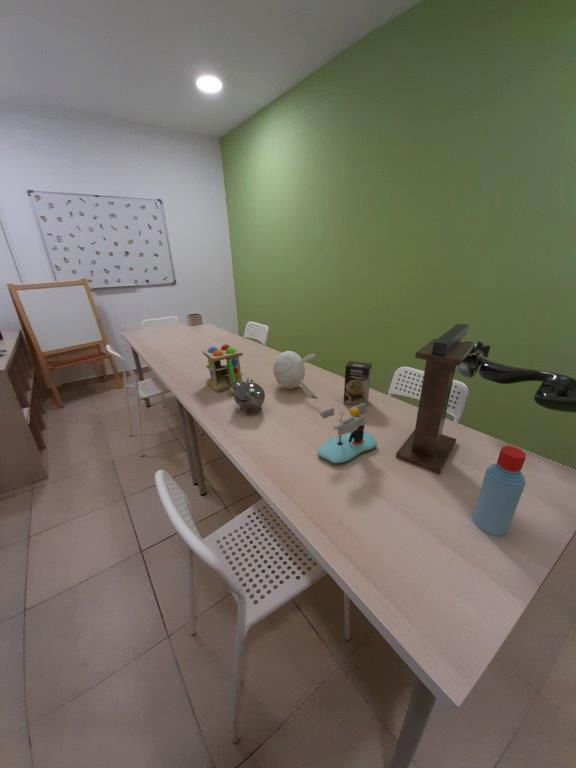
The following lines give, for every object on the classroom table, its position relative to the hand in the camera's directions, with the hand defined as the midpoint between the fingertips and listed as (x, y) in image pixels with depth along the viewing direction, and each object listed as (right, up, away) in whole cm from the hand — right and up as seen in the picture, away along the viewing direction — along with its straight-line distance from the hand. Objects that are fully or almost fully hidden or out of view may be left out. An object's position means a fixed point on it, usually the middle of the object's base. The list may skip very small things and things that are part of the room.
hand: (463, 342), depth 96 cm
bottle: (-11, -44, -30) cm, 54 cm away
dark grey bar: (-12, -2, -14) cm, 19 cm away
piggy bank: (-71, -24, +22) cm, 78 cm away
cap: (-12, -30, -36) cm, 48 cm away
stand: (-14, -33, -5) cm, 37 cm away
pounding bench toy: (-83, -15, +43) cm, 95 cm away
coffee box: (-29, -21, +25) cm, 43 cm away
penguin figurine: (-38, -34, -4) cm, 51 cm away
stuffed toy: (-53, -16, +38) cm, 67 cm away
